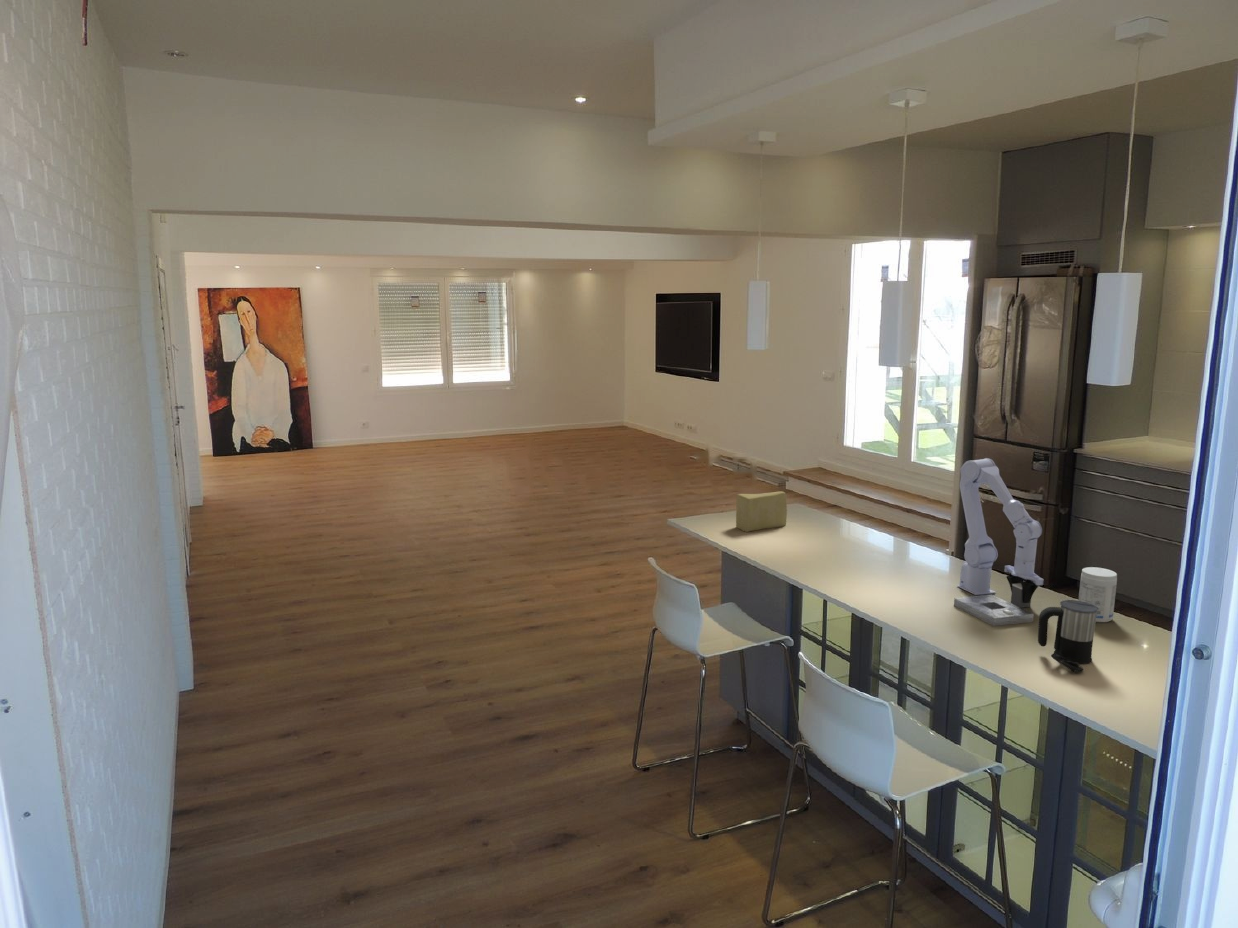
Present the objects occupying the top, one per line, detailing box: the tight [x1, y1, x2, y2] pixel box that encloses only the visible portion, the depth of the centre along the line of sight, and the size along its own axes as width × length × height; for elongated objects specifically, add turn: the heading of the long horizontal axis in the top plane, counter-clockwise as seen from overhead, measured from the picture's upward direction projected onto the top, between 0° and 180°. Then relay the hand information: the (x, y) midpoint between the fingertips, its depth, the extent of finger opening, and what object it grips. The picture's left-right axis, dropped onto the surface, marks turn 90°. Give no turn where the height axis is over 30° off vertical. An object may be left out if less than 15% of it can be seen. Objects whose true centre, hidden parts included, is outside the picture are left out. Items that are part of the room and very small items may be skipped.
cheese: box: [735, 490, 788, 533], centre depth 356 cm, size 22×10×15 cm, turn 111°
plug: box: [1010, 583, 1032, 609], centre depth 265 cm, size 4×4×6 cm
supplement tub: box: [1077, 566, 1118, 623], centre depth 254 cm, size 10×10×15 cm
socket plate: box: [953, 594, 1034, 627], centre depth 258 cm, size 18×14×3 cm
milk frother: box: [1037, 599, 1099, 673], centre depth 221 cm, size 14×16×15 cm
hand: (1020, 600), depth 266 cm, fingers closed on plug, 4 cm apart
